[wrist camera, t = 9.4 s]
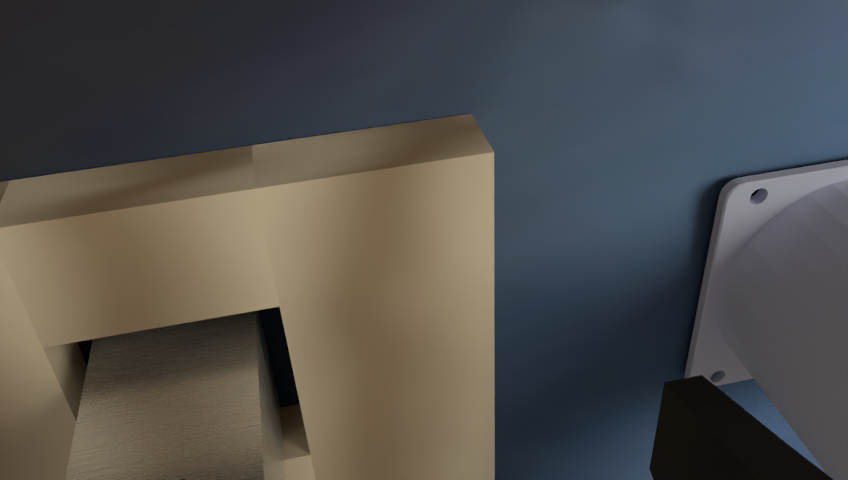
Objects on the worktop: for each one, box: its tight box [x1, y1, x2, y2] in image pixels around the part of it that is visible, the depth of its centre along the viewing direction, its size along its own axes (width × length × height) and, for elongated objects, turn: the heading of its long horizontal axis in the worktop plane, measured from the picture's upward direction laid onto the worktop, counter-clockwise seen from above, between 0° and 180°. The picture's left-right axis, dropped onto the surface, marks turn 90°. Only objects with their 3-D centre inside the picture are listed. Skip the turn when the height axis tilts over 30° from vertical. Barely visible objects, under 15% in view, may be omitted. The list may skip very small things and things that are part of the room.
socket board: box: [0, 114, 495, 480], centre depth 21 cm, size 16×12×2 cm
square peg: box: [65, 310, 285, 480], centre depth 19 cm, size 4×4×7 cm
